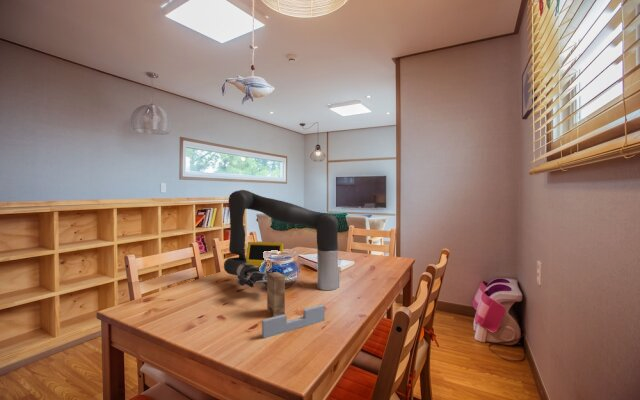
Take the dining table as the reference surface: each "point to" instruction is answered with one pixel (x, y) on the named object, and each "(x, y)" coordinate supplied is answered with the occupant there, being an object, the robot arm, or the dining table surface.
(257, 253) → the alarm clock
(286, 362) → the dining table surface
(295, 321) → the slate rail
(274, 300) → the walnut block
